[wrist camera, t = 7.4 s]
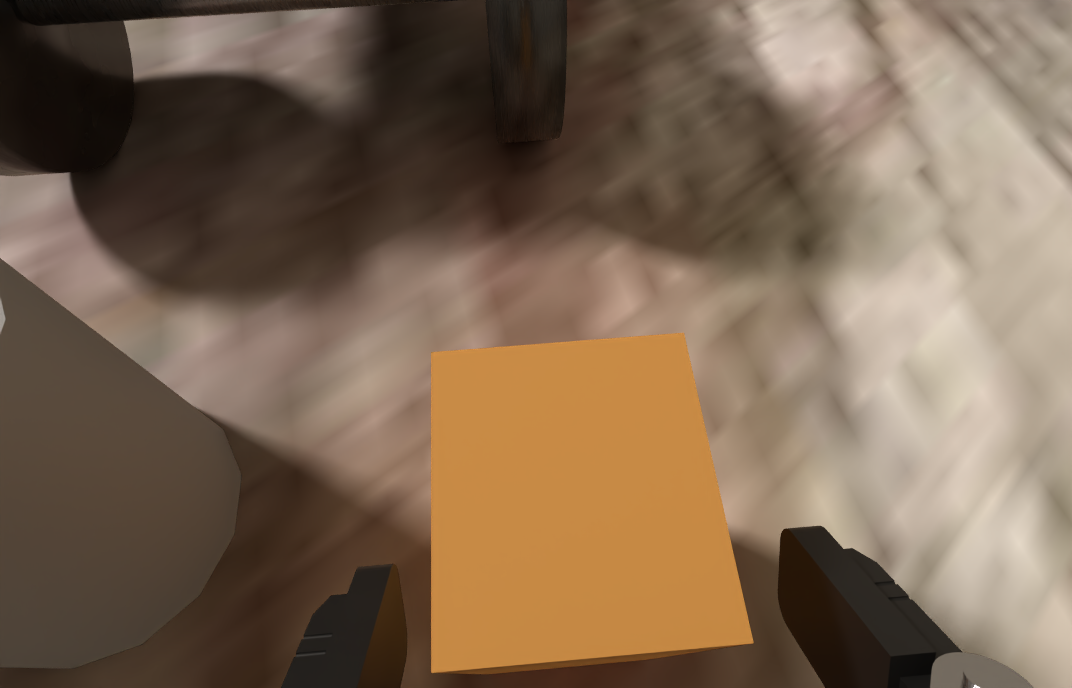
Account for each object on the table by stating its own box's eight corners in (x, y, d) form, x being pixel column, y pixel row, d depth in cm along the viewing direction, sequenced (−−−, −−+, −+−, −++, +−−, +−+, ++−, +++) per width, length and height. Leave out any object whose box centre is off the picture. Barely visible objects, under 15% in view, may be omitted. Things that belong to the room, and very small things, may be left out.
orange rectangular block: (647, 659, 17) (753, 642, 9) (488, 674, 17) (431, 673, 8) (621, 485, 20) (683, 332, 11) (481, 497, 20) (431, 352, 11)
